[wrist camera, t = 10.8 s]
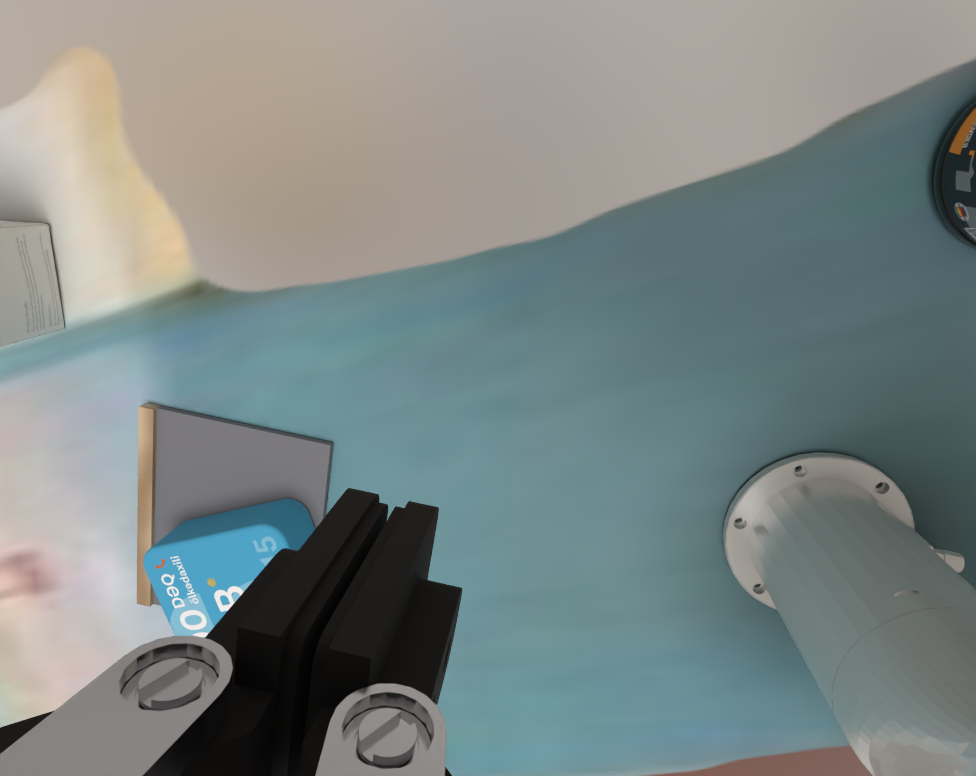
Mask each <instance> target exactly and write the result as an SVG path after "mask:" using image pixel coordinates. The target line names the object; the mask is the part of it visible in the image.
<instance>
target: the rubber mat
mask: <svg viewBox="0 0 976 776" xmlns="http://www.w3.org/2000/svg"><path fill="white" fill-rule="evenodd" d="M332 451H333V442H328V441H324V440H319V439H314V438H310V437H305V436H300V435H296V434H291V433H286V432H281V431H277V430H272V429H267V428H263V427H258V426H253V425H249V424H244V423H239V422H235V421H230V420H225V419H221V418H216V417H211V416H207V415H202V414H197V413H193V412H188V411H183V410H178V409H174V408H169V407H164V406H160V407H158V408H157V424H156V477H155V530H154V545H155V544H156V543H157V542H159V541H160V540H161V539H162V538H164V537H165V536H166V535H167V534H169V533H170V532H171V531H172V530H174V529H175V528H176V527H177V526H178V525H180V524H181V523H182V522H184V521H187V520H191V519H196V518H200V517H205V516H209V515H214V514H218V513H223V512H227V511H232V510H236V509H241V508H245V507H250V506H254V505H259V504H263V503H267V502H272V501H276V500H281V499H293V500H296V501H298V502H300V503H301V504H303V505H304V506H305V507H306V509H307V510H308V512H309V514H310V517H311V519H312V522H313V525H314V527H315V529H316V528H317V526H318V525H319V524H320V523H321V521H322V520H323V519H324V518H325V515H326V506H327V497H328V487H329V478H330V469H331V460H332ZM153 604H156V605H160V606H161V604H160V602H159V600H158V597H157V595H156V593H155V591H154V589H153Z"/></svg>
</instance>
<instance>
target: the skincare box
mask: <svg viewBox="0 0 976 776" xmlns="http://www.w3.org/2000/svg"><path fill="white" fill-rule="evenodd" d="M61 329H64V320H63V314H62V308H61V302H60V296H59V289H58V283H57V276H56V270H55V264H54V258H53V251H52V246H51V239H50V232H49V226H48V225H47V224H44V223H31V222H18V221H3V220H0V347H2V346H5V345H9V344H12V343H16V342H19V341H22V340H26V339H29V338H33V337H37V336H40V335H44V334H47V333H51V332H54V331H58V330H61Z"/></svg>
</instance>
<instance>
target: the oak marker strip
mask: <svg viewBox="0 0 976 776" xmlns="http://www.w3.org/2000/svg"><path fill="white" fill-rule="evenodd" d="M158 407H160V405H155V404H150V403H146V404H144V405H141V406H139V437H138V538H137V604H141V605H145V606H151V605H152V604H153V587H152V584H151V582H150V580H149V578H148V576H147V574H146V572H145V569H144V566H143V559H144V555H145V554H146V552H147V551H148V550H149V549H150V548H151V547H152V546H154V530H155V477H156V424H157V408H158Z"/></svg>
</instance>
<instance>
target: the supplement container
mask: <svg viewBox="0 0 976 776" xmlns="http://www.w3.org/2000/svg"><path fill="white" fill-rule="evenodd" d="M934 195H935V199H936V204H937V207H938V209H939V212H940V214H941V216H942V218H943V220H944V222H945V223H946V224H947V226H948V227H949V228H950V230H951V231H952V232H953V233H954V234H955V235H956V236H957V237H959V238H960V239H961V240H962V241H964V242H965V243H967V244H968V245H970V246H972V247H974V248H976V100H975V101H974V102H973V103H972V104H971V105H970V106H969V107H968V108H967V109H966V110H965V111H964V112H963V113H962V114H961V115H960V117H959V118H958V119H957V120H956V121H955V123H954V124H953V126H952V127H951V129H950V130H949V132H948V134H947V136H946V138H945V139H944V141H943V144H942V146H941V148H940V151H939V154H938V157H937V160H936V165H935V171H934Z"/></svg>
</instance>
